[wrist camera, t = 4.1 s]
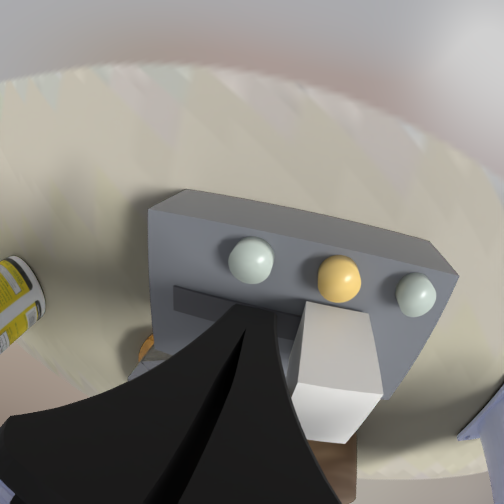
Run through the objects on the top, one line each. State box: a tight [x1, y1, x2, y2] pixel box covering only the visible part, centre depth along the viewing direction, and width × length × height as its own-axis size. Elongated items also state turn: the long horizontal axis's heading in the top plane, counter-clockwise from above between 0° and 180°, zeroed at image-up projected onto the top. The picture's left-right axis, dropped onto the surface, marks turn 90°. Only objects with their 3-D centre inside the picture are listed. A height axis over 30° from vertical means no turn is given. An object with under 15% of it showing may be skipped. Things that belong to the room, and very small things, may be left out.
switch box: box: [148, 189, 459, 400], centre depth 10 cm, size 10×6×4 cm, turn 82°
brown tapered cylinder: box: [307, 432, 357, 504], centre depth 14 cm, size 4×4×5 cm
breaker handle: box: [286, 301, 384, 444], centre depth 7 cm, size 2×2×3 cm
